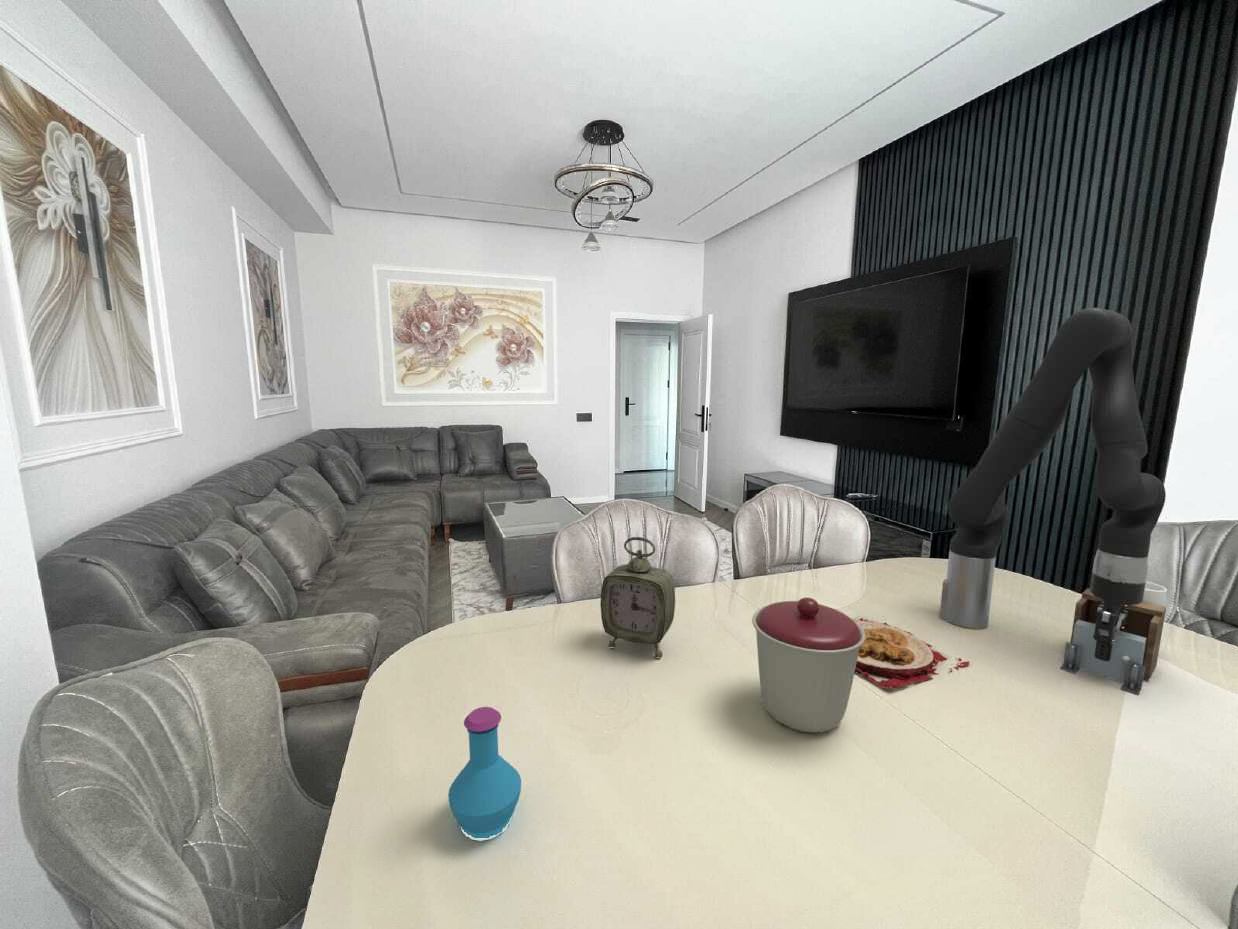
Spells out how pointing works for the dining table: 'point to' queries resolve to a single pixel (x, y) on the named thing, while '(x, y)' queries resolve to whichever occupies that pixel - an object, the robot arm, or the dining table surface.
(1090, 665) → the door
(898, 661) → the plate with food
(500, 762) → the perfume bottle
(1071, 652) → the hinge clips
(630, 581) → the tabletop clock
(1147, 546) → the robot arm
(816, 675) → the canister
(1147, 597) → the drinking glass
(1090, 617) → the cabinet
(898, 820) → the dining table surface
